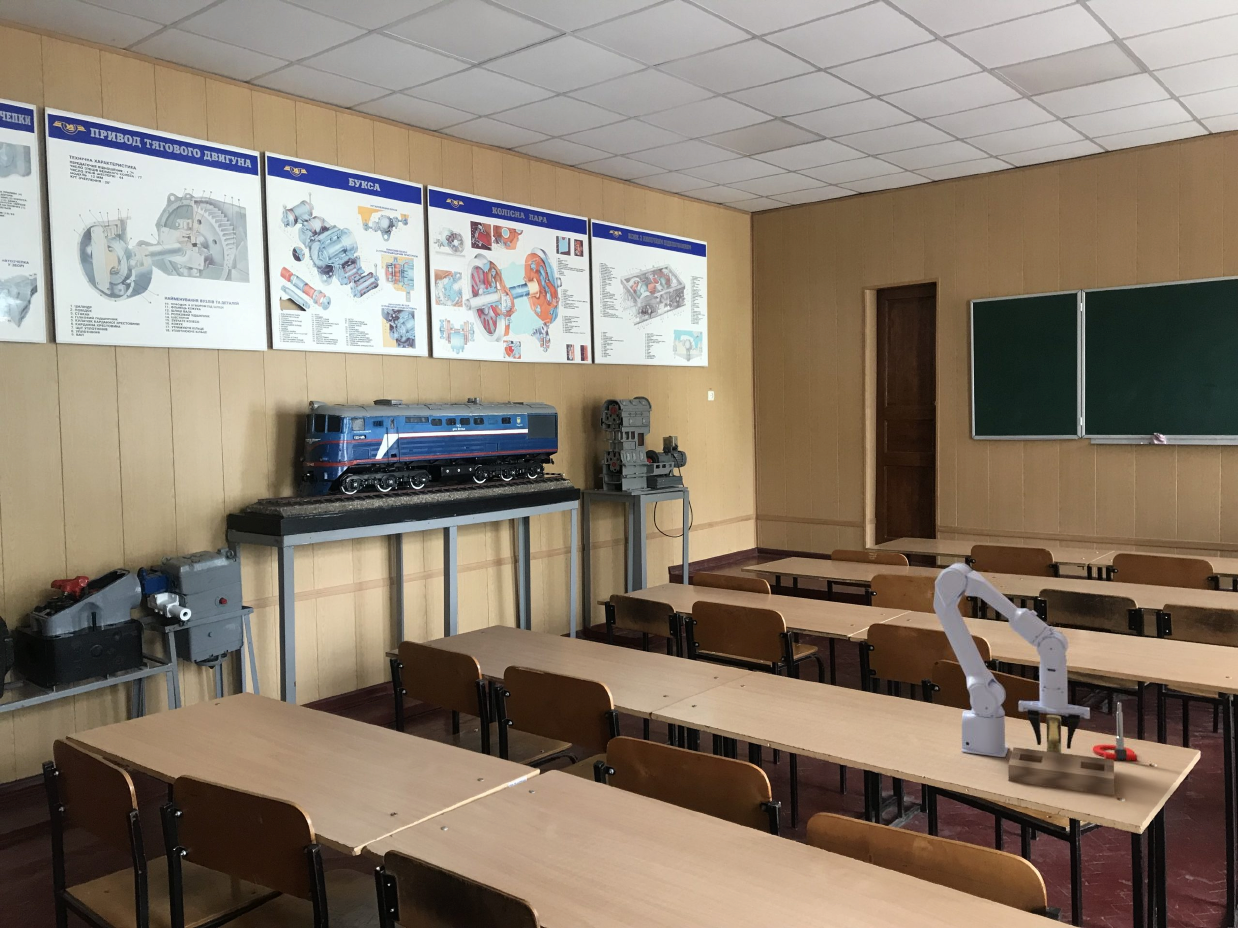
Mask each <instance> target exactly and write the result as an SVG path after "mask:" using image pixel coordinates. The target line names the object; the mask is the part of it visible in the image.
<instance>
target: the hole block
mask: <svg viewBox="0 0 1238 928" xmlns="http://www.w3.org/2000/svg"><path fill="white" fill-rule="evenodd" d="M1007 768H1008V769H1007V770H1008V778H1007V779H1008V781H1009V782H1014V783H1015V782H1017V783H1024V784H1028V785H1029V784H1031V785H1039V786H1045V787H1052V788H1058V789H1059V788H1060V789H1065V790H1070V791H1071V790H1072V791H1073V790H1074V791H1080V792H1087V793H1092V794H1093V793H1094V794H1100V795H1108V796H1115V760H1112V759H1105V758H1104V757H1103V758H1101V757H1094V756H1086V755H1079V754H1070V753H1063V752H1061V753H1056V752H1048V751H1047V750H1039V749H1030V748H1023V747H1014V746H1013V748H1012V751H1011V754H1010V757H1009V761H1008V765H1007Z"/></svg>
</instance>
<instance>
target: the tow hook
mask: <svg viewBox="0 0 1238 928" xmlns="http://www.w3.org/2000/svg"><path fill="white" fill-rule="evenodd" d="M1116 703H1117V704H1116V705H1117V711H1116V737H1115V744H1097V745H1094V746H1093V747H1092V751H1093V752H1094V754H1096V755H1099V756H1102V757H1103V758H1104V759H1112V760H1114V761H1138V756H1137V753H1135V751H1134V750H1133V749H1131V748H1128V747H1127V746H1126V747H1125V737H1124V728H1123V727H1124V725H1123V723H1124V721H1123V714H1124V713H1123V712H1122V702H1116ZM1105 750H1113V752H1109V751H1105Z"/></svg>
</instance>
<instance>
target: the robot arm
mask: <svg viewBox="0 0 1238 928" xmlns="http://www.w3.org/2000/svg"><path fill="white" fill-rule="evenodd" d="M934 587H935V588H934V596H933V597H934V598H933V609H934V612H935V614H936V616H937V619H938V620H939V622H940V624H941V627H942V628H943V631H944V633H945V635H946V637H947V639H948V641H949V644H950V647H951V648H952V650H953V652H954V654H955V656H956V659H957V661H958V663H959V665H960V667H961V669H962V671H963V674H964V675H965V677H966V687H967V688H966V689H967V691H968V693H969V696H970V697H969V703H970V707H971V710H963V711H962V717H961V752H962V753H967V754H973V755H975V754H976V755H985V756H990V757H999V758H1005V757H1006V756H1007V753H1008V751H1009V745H1007V744H1006V725H1005V724H1006V722H1005V721H1006V720H1005V719H1006V718H1005V717H1006V716H1005V714H1006V711H1005V710H1004V708H1003V706H1002V704H1003V703H1004V701H1005V700H1006V690H1005V688H1004V686H1003V685H1002V684H1001V683H999V682H998V680H997V679H996V678H995V676H994V674H993V673H992V672H991V671H990V670H989V669H988V668H987V666H986V664H985V661H984V660H983V658H982V656H981V654H980V653H981V652H979V649H978V648H977V645H976V643H975V641H974V639H973V637H972V634H971V633H970V631H969V628H968V626H967V624H966V622H965V620H964V618H963V616H962V614H961V611H960V610H959V607H958V605H959V603H960V601H961V599H962V597H963V594H964V596H968V597H969V596H971V597H978V598H980V599H982V600H983V601H984V602H985V603H987V604H988V605H989V606H990V607H992V608H994V609H995V610H996V611H997V612H999V613H1000V614H1002V615H1003V616H1004V617H1005V618H1007V619H1008V624H1009V628H1011V629H1012V630H1013V631H1014V632H1015V633H1016V634H1018V635H1019V636H1020V637H1022V639H1024V640H1025V641H1026V642H1027V643H1029V644H1030V645H1031V646H1032V647H1035V648H1036V652H1037V654H1038V656H1039V700H1037V701H1035V700H1033V701H1032V700H1030V701H1029V700H1019V701H1018V712H1027V719H1028V722H1029V723H1030V725H1031V727H1032V729H1033V731H1034V732H1033V733H1034V735H1035V738H1036V745H1037V746H1041V745H1042V733H1041V732H1042V731H1041V713H1043V714H1048V715H1057V716H1060V715H1061V716H1067V721H1066V722H1067V739H1066V749H1068V750H1070V749H1071V747H1072V741H1073V737H1074V734H1075V732H1076V730H1077V729H1078V726H1079V724H1080V721H1081V718H1084V719H1091V718H1090V717H1091V715H1090V710H1091V709H1090V707H1084V706H1080V705H1073V704H1068V667H1067V662H1068V660H1067V655H1066V653H1067V651H1068V648H1069V641H1068V639H1067V637H1066V636H1065V635H1064V634H1063V632H1062V631H1060V630H1055V627H1053V625H1051V626H1049V625H1048V624H1047V623H1045V622H1044V620H1042V619H1040V618H1039V617H1038V616H1037V615H1038V613H1037V612H1036V611H1035V610H1033V609H1032V610H1030V609H1028V608H1020V607H1018V606H1016V605H1015V604H1014V603H1013V602H1012V601H1011V600H1009V599H1008V598H1007V597H1006V596H1005V595H1004V594H1002V593H1001V592H1000V591H999V589H997V588H996V587H995V586H993V584H992V583H990V582H989V581H988V580H987V579H986V578H985V577H983V576H982V575H981V574H980V573H979V572H978V571H976V570H973V569H972V568H971V567H970V566H969V565H968V564H967V563H964V562H955V563H953V564H951V565H950V566H949V567H945V569H943V570H941V572H940V573H939V575H938V576H937V578H936V579H935V582H934Z"/></svg>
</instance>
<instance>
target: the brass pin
mask: <svg viewBox="0 0 1238 928" xmlns="http://www.w3.org/2000/svg"><path fill="white" fill-rule="evenodd" d="M1046 751H1048V752H1056V753H1062V716H1060V715H1058V714H1047V715H1046Z"/></svg>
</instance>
